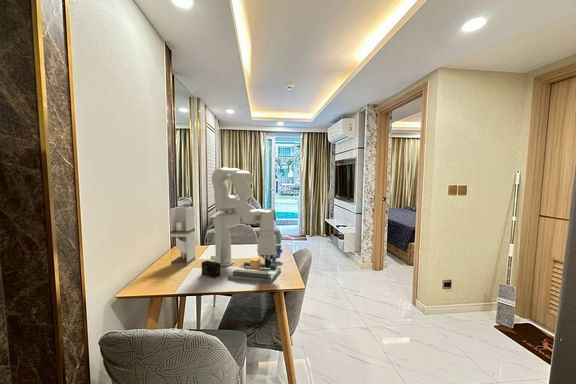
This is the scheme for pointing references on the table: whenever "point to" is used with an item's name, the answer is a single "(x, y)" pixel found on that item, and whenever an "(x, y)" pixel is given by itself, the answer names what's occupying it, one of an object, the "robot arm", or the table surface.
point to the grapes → (277, 253)
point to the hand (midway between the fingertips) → (267, 266)
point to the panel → (271, 276)
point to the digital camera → (211, 269)
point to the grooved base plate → (253, 271)
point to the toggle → (255, 264)
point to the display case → (183, 233)
